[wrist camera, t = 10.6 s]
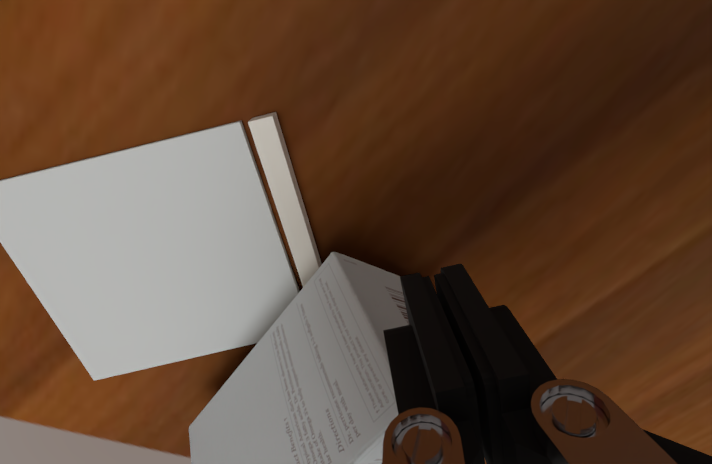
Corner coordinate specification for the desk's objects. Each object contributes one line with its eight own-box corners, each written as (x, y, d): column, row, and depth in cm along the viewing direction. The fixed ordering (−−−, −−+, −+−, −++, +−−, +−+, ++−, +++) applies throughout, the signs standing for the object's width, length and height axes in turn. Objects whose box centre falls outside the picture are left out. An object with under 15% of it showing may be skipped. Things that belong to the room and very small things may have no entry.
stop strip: (275, 111, 17) (272, 115, 15) (338, 319, 21) (339, 333, 20) (252, 117, 17) (247, 121, 16) (320, 323, 21) (320, 338, 20)
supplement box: (434, 287, 21) (298, 426, 25) (330, 245, 16) (181, 426, 20) (530, 418, 16) (338, 569, 19) (419, 414, 11) (193, 615, 15)
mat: (241, 120, 17) (239, 121, 16) (311, 325, 21) (311, 330, 21) (-28, 187, 17) (-35, 189, 17) (98, 375, 21) (94, 380, 21)
